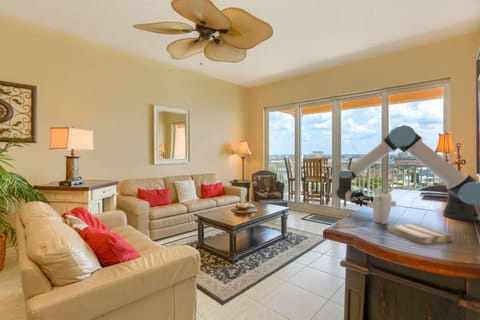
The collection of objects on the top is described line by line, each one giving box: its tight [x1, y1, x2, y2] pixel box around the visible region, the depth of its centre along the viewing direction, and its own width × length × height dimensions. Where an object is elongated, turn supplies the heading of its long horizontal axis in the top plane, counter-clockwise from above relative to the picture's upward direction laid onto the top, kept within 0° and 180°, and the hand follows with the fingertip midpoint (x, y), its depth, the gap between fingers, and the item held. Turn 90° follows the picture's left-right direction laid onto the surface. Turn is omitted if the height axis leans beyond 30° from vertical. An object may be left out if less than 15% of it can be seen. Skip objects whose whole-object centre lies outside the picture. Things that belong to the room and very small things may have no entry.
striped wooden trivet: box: [387, 223, 453, 245], centre depth 106 cm, size 16×16×2 cm
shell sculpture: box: [372, 187, 392, 225], centre depth 125 cm, size 8×8×18 cm
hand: (384, 204), depth 123 cm, fingers open, 13 cm apart
